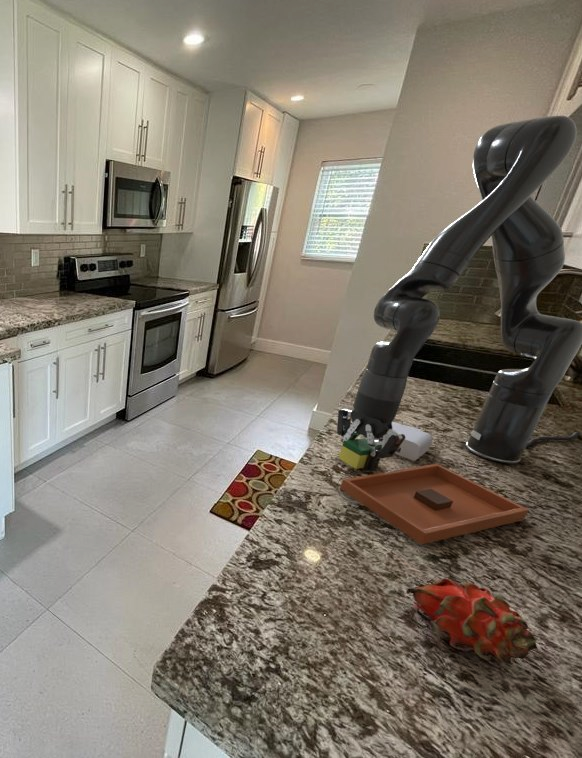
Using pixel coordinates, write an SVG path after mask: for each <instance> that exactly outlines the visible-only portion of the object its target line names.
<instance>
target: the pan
mask: <svg viewBox="0 0 582 758" xmlns="http://www.w3.org/2000/svg"><path fill="white" fill-rule="evenodd" d="M339 489H340V490H341V491H343V493H345V494H346V495H348V496H350V497H351V498H353V500H355V501H357V502H358V503H359V504H361V505H363V506H364V507H365V508H367V509H369V510H370V511H371V512H373V513H374V514H376V515H377V516H378V517H380V518H382V519H383V520H384V521H386V522H387V523H389V524H390V525H392V526H393V527H394V528H396V529H397V530H398V531H401V532H402V533H403V534H405V535H406V536H408V537H409V538H410V539H412V540H414V541H415V542H416V543H418V544H419V545H425V544H429V543H434V542H438V541H442V540H445V539H451V538H454V537H458V536H463V535H467V534H471V533H476V532H479V531H484V530H488V529H493V528H496V527H499V526H504V525H509V524H512V523H516V522H517V523H518V522H520V521H521V522H522V521H524V520H525V519H526V516H527V515H528V513H529V511H530V509H528V508H526V507H525V506H523V505H520V504H518V503H516V502H514V501H513V500H511V499H509V498H506V497H505V496H502V495H501V494H499V493H497V492H494V491H492V490H490V489H489V488H486V487H485V486H483V485H481V484H479V483H477V482H474V481H472V480H470V479H469V478H466V477H465V476H463V475H461V474H459V473H457V472H455V471H452V470H451V469H449V468H447V467H445V466H443V465H441V464H439V463H432V464H425V465H420V466H414V467H408V468H403V469H395V470H390V471H384V472H377V473H372V474H365V475H360V476H355V477H349V478H343V479H342V482H341V485H340V487H339ZM426 489H432V490H434V491H436V492H438V493H440V494H441V495H443V496H445V497H447V498H449V499H450V500H452V501H453V503H452V505H451V507H450V508H446V509H441V510H436V511H435V510H433V509H432V508H430V507H428V506H427V505H425V504H423V503H422V502H420V501H418V500H417V499H415V498H414V495H415V493H416V491H421V490H426Z"/></svg>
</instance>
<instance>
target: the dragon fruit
mask: <svg viewBox="0 0 582 758" xmlns="http://www.w3.org/2000/svg"><path fill="white" fill-rule="evenodd" d="M405 594H407V595H410V594H412V597H413V598H414V601H415V603H417V604H414V605H413V609H414V611H416V614H417V615H418V616H420V617H421V620H423V621H425V623H427V624H428V625H431V627H430V628H431V632H432V633H434V634H439V635H442V632H446V633H447V634H448V635H449V636H450V641H449V645H450V647H453V648H454V649H456V650H460V651H463V652H469V651H473V653H474V654H476V655H478V657H480V658H482V659H484V660H486V661H489V660H490V659H491V658H492V655H493V656H494V657H495V658H496V659H498V660H499V661H500V662H502V663H503V664H505V665H509V666H513V665H514V663H513V662H512V661H511V659H520V660H524V659H525V658H527V656H529V653H530V652H529V651H533V650H537V649H538V646H537V639H536V638H535V635H534V634H533V633H532V632H531V630H528V629H529V626H528V624H527V622H526V621H525V620H524V619H523V617H522V616H521V615H520V613H519V612H518V611H516V610H511V607H510V604H509V603H508V601H506V600H505V599H504V598H503V597H502V596H501V595H499V594H498V593H492V592H491V593H490V591H489V590H488V588H485V587H479V586H478V585H477V584H475V583H473V582H468V581H461V582H460V583H459V582H457V581H455V580H453V579H450V578H447V577H446V578H442V579H439V581H436V582H433V583H428V584H425V585H424V584H423V585H420V586H415V587H411V588H406V592H405ZM420 611H422V612H420ZM429 618H430V619H429ZM458 645H465V646H458ZM487 654H488V655H487Z"/></svg>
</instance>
